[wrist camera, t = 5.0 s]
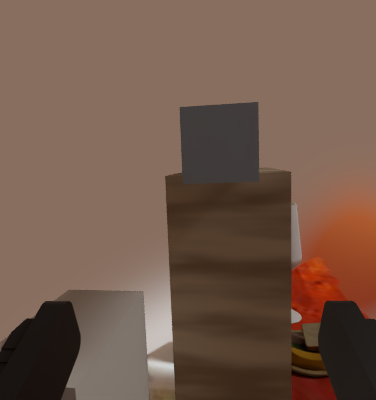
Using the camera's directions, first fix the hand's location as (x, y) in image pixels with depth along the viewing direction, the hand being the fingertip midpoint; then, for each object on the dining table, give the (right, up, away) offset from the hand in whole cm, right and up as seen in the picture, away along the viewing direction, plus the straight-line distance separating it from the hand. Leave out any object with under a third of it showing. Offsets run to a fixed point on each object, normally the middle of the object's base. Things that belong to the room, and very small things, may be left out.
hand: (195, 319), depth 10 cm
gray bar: (+3, +6, +19) cm, 20 cm away
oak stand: (+5, -25, +28) cm, 38 cm away
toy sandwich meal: (+21, -23, +44) cm, 53 cm away
